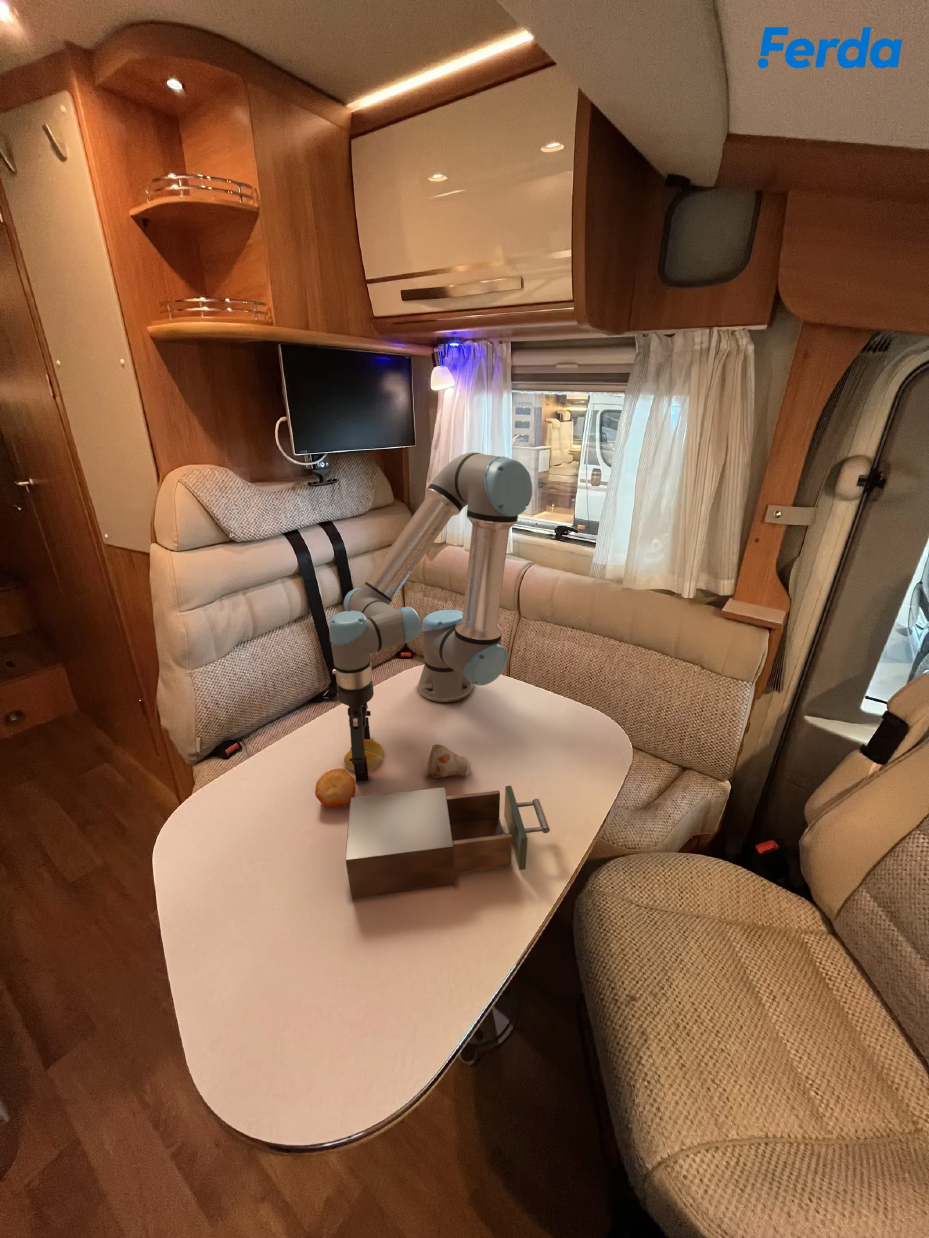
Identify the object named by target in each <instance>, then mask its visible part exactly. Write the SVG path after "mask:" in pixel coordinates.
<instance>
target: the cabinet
mask: <svg viewBox="0 0 929 1238" xmlns="http://www.w3.org/2000/svg"><path fill="white" fill-rule="evenodd" d="M446 796H447V793H446V787H445V786H443V787H435V788H434V787H433V788H425V789H416V790H406V791H398V792H388V793H380V794H379V793H378V794H372V795H371V794H370V795H361V796H354V797H352V798H351V801H350V804H349V813H348V826H347V835H346V837H347V839H346V849H345V866H346V872H347V879H348V884H349V892H350V896H351V900H355V899H364V898H370V897H372V898H373V897H379V896H387V895H393V894H401V893H409V892H416V891H422V890H431V889H437V888H444V887H452V886H455V874H454V847H453V840H452V833H451V826H450V819H449V812H448V805H447V798H446Z"/></svg>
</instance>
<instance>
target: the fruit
mask: <svg viewBox="0 0 929 1238" xmlns="http://www.w3.org/2000/svg"><path fill="white" fill-rule="evenodd" d="M356 792H357V786H356V780H355V777H353V775H352V774H351V773H350V772H349V771H347V770H346V769H345V768H343V767H342V768H338V767H337V768H333V769H330V770H328V771H326V772H324V773H323V774H322V775H321V776H320V777H319V778H318V780H317V781H316V784H315V790H314V794H315V798H316V799H317V800H318V802H319V803H320V804H322V805H323V806H324V807H325V808H327V809H330V810H331V809H341V808H342V809H343V808H345V807H347V806H350V801H351V798H352V797H356Z"/></svg>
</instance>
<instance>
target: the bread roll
mask: <svg viewBox="0 0 929 1238" xmlns="http://www.w3.org/2000/svg"><path fill="white" fill-rule="evenodd" d="M364 742H365V755H366V759H367V768H368V771H370V770H374V769H375V768H376V767H377V766H378V765H379V764H380V763H381V761H382V758H383V757H384V748H383V747H382V745H381V744H380V743H379V742H377V741H376V740H373V739H371V738H370V739H364ZM350 758H352V749H351V747H350V749H349V751H348V752H347V753H346V754H345V755H344V758H343V762H344V764H345V766H346V767H347V768H348V769H349V770H350V771H352V772H354V773H355V770H354V764H352V761H350Z"/></svg>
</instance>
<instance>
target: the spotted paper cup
mask: <svg viewBox="0 0 929 1238" xmlns="http://www.w3.org/2000/svg"><path fill="white" fill-rule="evenodd" d="M430 749H431V750H430V753H429V757H428V762H427V766H426V776H428V777H430V778H433V779H434V778H435V779H436V778H437V779H438V778H445V777H449V776H455V775H457V776H463V777H466V776H467V775H468V774H470V771H471V768H472V761H471V760H470V758H469V757H466V756H462V755H459V754H457V753H455V752H454V751H452V750H451V749H450V748H448V747H446V746H444V745H442V744H438V743H437V744H433V745H432V746H431V748H430Z"/></svg>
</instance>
